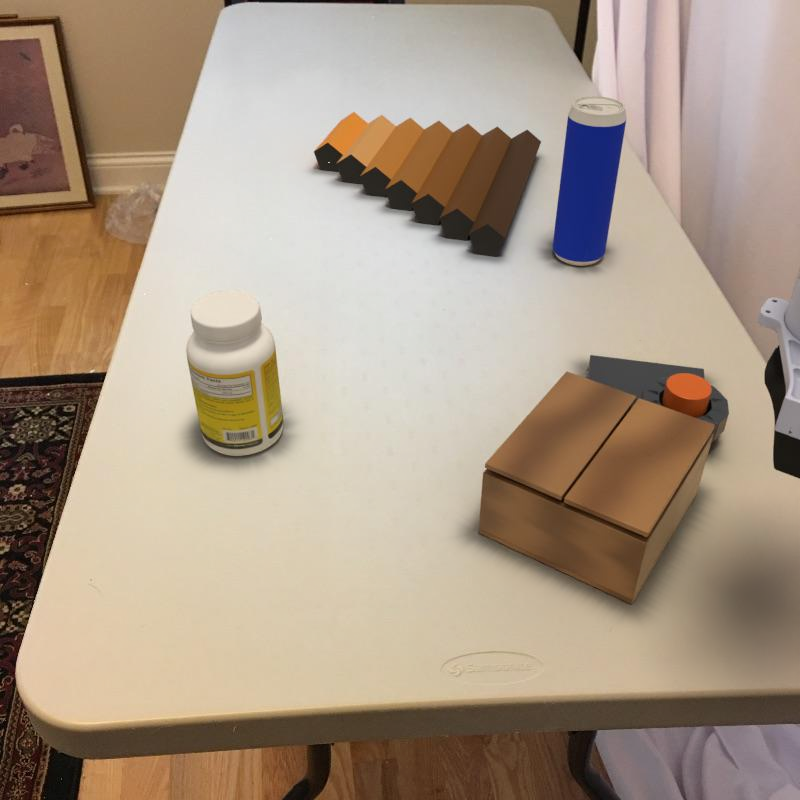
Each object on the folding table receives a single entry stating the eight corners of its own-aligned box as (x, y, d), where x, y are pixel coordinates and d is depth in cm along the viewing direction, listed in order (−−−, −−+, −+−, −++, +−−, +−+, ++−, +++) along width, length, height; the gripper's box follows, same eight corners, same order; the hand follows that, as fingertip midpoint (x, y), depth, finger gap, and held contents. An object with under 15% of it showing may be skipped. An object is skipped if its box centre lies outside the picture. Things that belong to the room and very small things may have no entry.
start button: (705, 394, 68) (710, 375, 67) (707, 421, 65) (713, 402, 64) (661, 389, 68) (666, 370, 67) (662, 415, 66) (666, 396, 65)
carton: (697, 493, 63) (716, 424, 59) (631, 604, 55) (649, 533, 52) (556, 437, 68) (566, 370, 64) (477, 532, 60) (483, 463, 56)
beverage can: (604, 244, 91) (627, 97, 82) (604, 270, 87) (628, 117, 78) (552, 240, 92) (570, 93, 83) (550, 265, 88) (568, 113, 79)
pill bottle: (252, 396, 72) (237, 274, 65) (300, 433, 68) (290, 308, 61) (185, 430, 68) (161, 305, 62) (231, 471, 65) (212, 343, 58)
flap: (713, 429, 60) (715, 424, 59) (647, 537, 52) (648, 532, 52) (638, 402, 62) (638, 397, 62) (563, 502, 54) (564, 497, 54)
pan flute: (503, 257, 89) (539, 158, 108) (506, 226, 87) (542, 131, 106) (267, 226, 94) (341, 136, 113) (264, 195, 92) (340, 110, 111)
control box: (714, 383, 73) (722, 352, 71) (721, 464, 65) (731, 432, 64) (588, 367, 75) (593, 337, 73) (581, 445, 67) (586, 413, 65)
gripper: (824, 172, 48) (760, 378, 56) (739, 290, 38) (678, 518, 47) (972, 205, 45) (881, 418, 53) (920, 343, 35) (820, 576, 44)
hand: (795, 468), depth 50 cm, fingers closed
